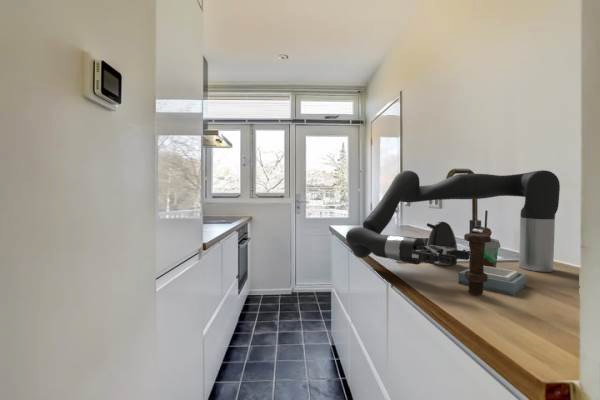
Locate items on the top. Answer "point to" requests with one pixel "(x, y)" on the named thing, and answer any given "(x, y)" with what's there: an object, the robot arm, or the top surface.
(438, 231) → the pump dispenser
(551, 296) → the top surface
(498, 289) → the socket tray
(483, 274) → the bolt
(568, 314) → the top surface
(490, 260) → the food container
